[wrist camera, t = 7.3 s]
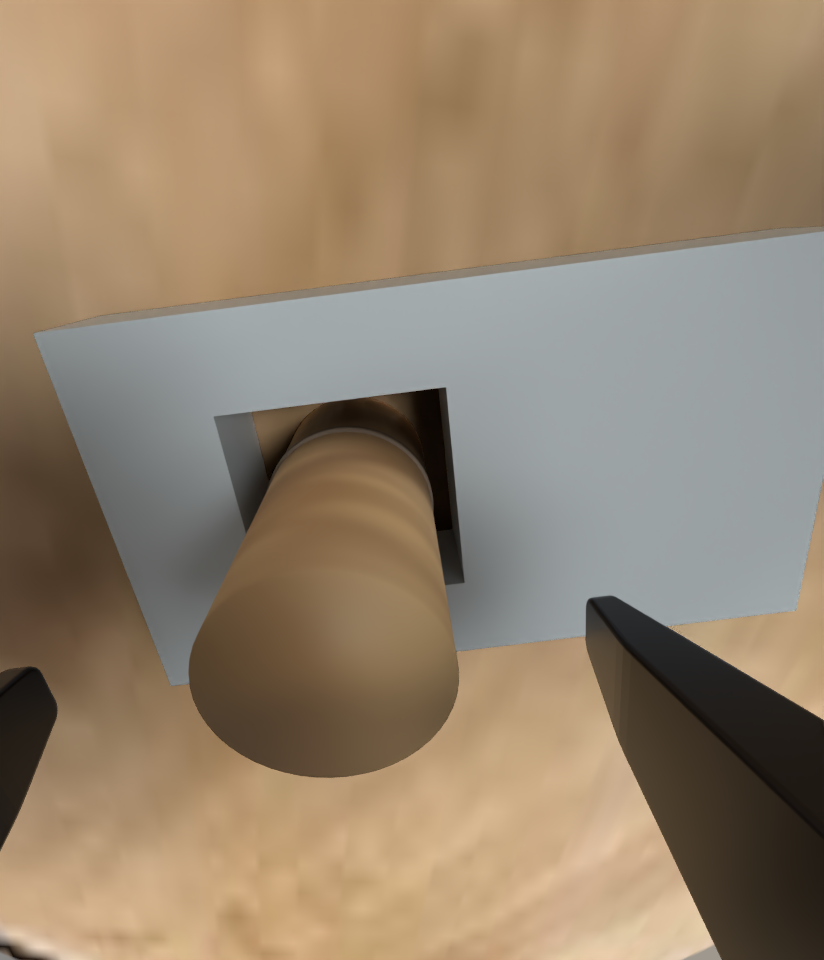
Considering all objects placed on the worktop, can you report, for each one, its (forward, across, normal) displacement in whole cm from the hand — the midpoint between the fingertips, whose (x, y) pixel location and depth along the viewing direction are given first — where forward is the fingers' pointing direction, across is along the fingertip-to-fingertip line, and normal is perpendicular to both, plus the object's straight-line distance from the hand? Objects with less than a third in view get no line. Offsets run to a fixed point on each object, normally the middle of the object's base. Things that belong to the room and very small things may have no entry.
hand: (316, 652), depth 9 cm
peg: (+8, 0, 0) cm, 8 cm away
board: (+8, -3, 0) cm, 9 cm away
